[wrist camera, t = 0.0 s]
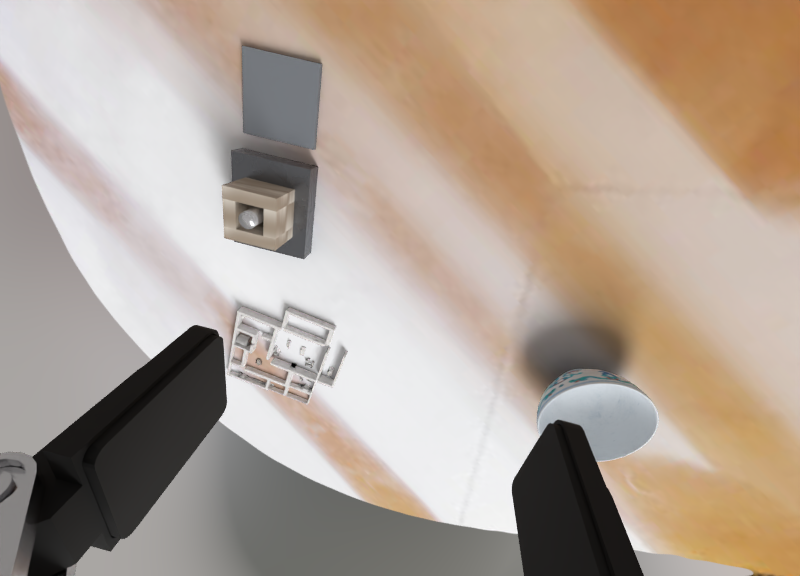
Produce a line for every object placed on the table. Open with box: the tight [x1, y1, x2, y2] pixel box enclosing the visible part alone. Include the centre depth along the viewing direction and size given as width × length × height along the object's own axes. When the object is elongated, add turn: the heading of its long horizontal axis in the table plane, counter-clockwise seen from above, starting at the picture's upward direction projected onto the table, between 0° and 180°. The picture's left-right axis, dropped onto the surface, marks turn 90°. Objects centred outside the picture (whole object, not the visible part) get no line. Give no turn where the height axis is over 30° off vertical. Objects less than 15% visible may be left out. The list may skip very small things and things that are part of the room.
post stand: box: [231, 148, 318, 259], centre depth 43 cm, size 12×10×8 cm
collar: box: [222, 177, 295, 251], centre depth 42 cm, size 6×6×5 cm
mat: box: [242, 46, 322, 150], centre depth 40 cm, size 9×9×1 cm
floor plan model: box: [227, 306, 348, 405], centre depth 57 cm, size 19×25×2 cm
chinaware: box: [537, 369, 659, 462], centre depth 50 cm, size 15×15×8 cm
